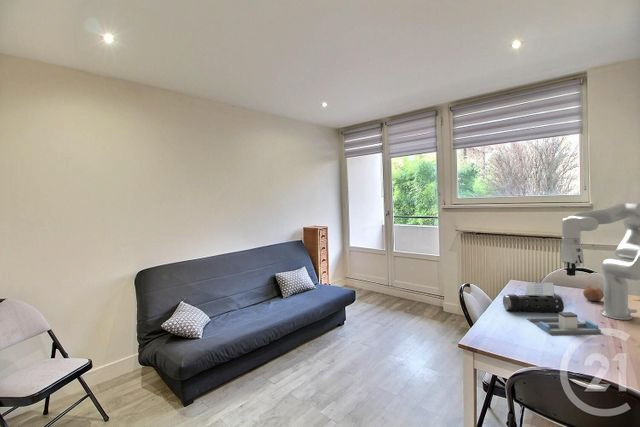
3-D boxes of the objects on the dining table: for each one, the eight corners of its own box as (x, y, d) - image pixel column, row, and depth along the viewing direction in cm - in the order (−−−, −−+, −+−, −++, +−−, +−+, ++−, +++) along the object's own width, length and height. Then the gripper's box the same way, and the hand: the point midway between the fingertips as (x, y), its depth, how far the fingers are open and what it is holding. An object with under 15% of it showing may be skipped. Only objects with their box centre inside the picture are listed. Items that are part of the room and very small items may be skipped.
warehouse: (527, 290, 214) (527, 280, 214) (553, 293, 205) (553, 282, 205) (525, 303, 190) (525, 291, 190) (554, 307, 182) (554, 295, 181)
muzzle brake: (564, 316, 168) (564, 298, 167) (508, 315, 174) (508, 297, 173) (554, 310, 177) (554, 293, 177) (502, 308, 183) (502, 292, 182)
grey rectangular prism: (571, 327, 153) (571, 312, 152) (577, 331, 149) (577, 315, 148) (558, 327, 153) (558, 312, 153) (564, 331, 149) (564, 315, 149)
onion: (585, 303, 192) (578, 287, 196) (603, 301, 189) (595, 284, 193) (590, 303, 184) (582, 286, 188) (609, 300, 181) (601, 283, 185)
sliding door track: (571, 319, 164) (571, 312, 163) (604, 336, 144) (604, 328, 144) (526, 320, 165) (526, 313, 165) (552, 337, 145) (552, 329, 145)
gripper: (590, 243, 152) (590, 279, 153) (567, 238, 167) (567, 271, 168) (574, 243, 152) (574, 279, 153) (553, 239, 167) (553, 272, 168)
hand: (571, 275), depth 160 cm, fingers closed
